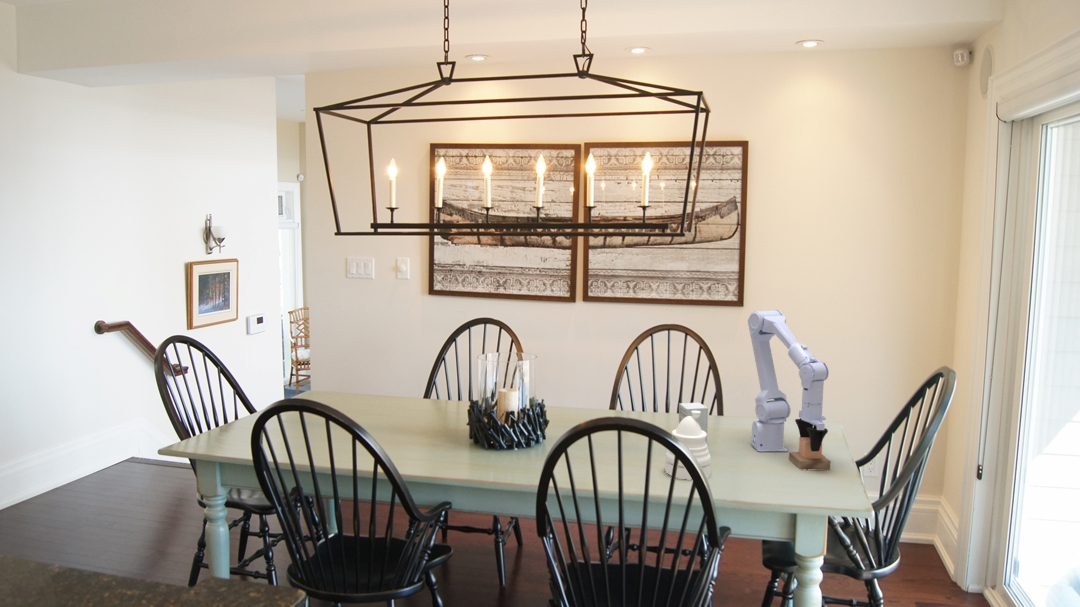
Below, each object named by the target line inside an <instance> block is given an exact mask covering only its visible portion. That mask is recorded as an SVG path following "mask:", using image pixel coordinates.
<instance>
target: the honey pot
mask: <svg viewBox="0 0 1080 607" xmlns="http://www.w3.org/2000/svg"><path fill="white" fill-rule="evenodd" d="M691 412H692V416H687V417H685V418H684V419H683V420H682V421H681V422H680V423H679V422H678V425H677V427H676V428H675V429H673V430H672V431H671V435H672V436H673V435H674V436H675V437H677V438H678V439H679V440H680V441H681V442H682V443H683V444H685V445H686V446H687V447H688V448H689V450H690V451H691V452H692V453H693V455H694V456H695V458H696V459H697V461H698V463H699V464H700V466H701V467H702V469H703V470H704V472H705V474H706V475H709V474H710V475H711V467H712V466H711V465H712V463H711V462H712V456H711V454H710V450H709V447H708V446H709V445H708V442H707V443H706V441H705V438H706V437H707V438H708V432H707V433H706V432H705V431H703V430H701V428H700V426H699V424H698V422H697V421H696V420H695V419H696V418H698V417H699V416H700V413H701V412H700V411H691ZM673 463H674V456H673V454H672V453H671V452H670V451H668V450H667V451H666V453H665V464H664V465H665V466H664V467H665V469H664V470H665V471H666V472H665V474H666V473H668V474H670V473H672V468H673ZM668 474H667V475H668ZM677 478H678V479H677ZM675 479H677V480H682V479H687V480H686V481H692V480H691V478H690V476H689V474H688V472H687V471H686V469H685V468H684V466H683V465H682V463H681V462H680V461H679V464H678V469H677V475H676V478H675Z"/></svg>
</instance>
